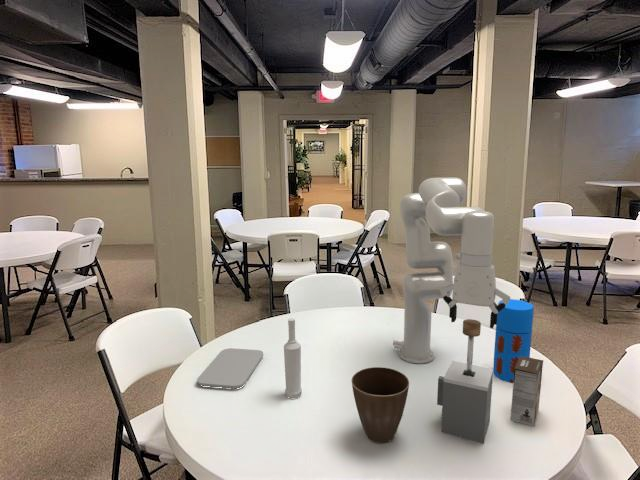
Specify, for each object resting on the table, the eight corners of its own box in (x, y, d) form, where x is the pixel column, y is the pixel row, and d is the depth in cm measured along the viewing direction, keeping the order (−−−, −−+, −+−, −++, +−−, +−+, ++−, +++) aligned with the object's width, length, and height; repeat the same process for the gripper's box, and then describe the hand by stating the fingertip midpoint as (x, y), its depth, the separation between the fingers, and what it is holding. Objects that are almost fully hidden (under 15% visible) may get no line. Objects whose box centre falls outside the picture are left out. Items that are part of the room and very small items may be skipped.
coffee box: (515, 404, 136) (519, 354, 132) (539, 410, 132) (543, 359, 129) (509, 420, 128) (514, 367, 125) (534, 427, 125) (539, 373, 121)
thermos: (531, 384, 147) (537, 311, 141) (496, 381, 149) (501, 309, 144) (523, 368, 157) (529, 299, 152) (490, 366, 159) (495, 298, 154)
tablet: (194, 388, 147) (193, 382, 147) (224, 353, 173) (224, 347, 172) (242, 392, 145) (241, 386, 144) (265, 356, 170) (265, 350, 169)
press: (432, 429, 124) (434, 376, 121) (441, 409, 134) (443, 358, 130) (483, 444, 118) (487, 387, 115) (489, 421, 127) (493, 368, 124)
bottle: (304, 392, 144) (302, 317, 139) (298, 400, 139) (296, 323, 134) (289, 389, 146) (287, 315, 140) (282, 397, 141) (280, 321, 136)
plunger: (450, 391, 121) (454, 325, 117) (456, 378, 128) (459, 315, 124) (480, 398, 118) (485, 330, 114) (484, 384, 124) (489, 319, 121)
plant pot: (368, 459, 113) (369, 401, 109) (342, 426, 126) (342, 373, 123) (418, 443, 118) (421, 387, 115) (388, 413, 132) (389, 362, 129)
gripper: (438, 259, 116) (435, 323, 119) (511, 266, 108) (506, 334, 111) (444, 253, 123) (442, 314, 126) (514, 259, 115) (509, 324, 118)
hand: (472, 323), depth 119 cm, fingers open, 9 cm apart
